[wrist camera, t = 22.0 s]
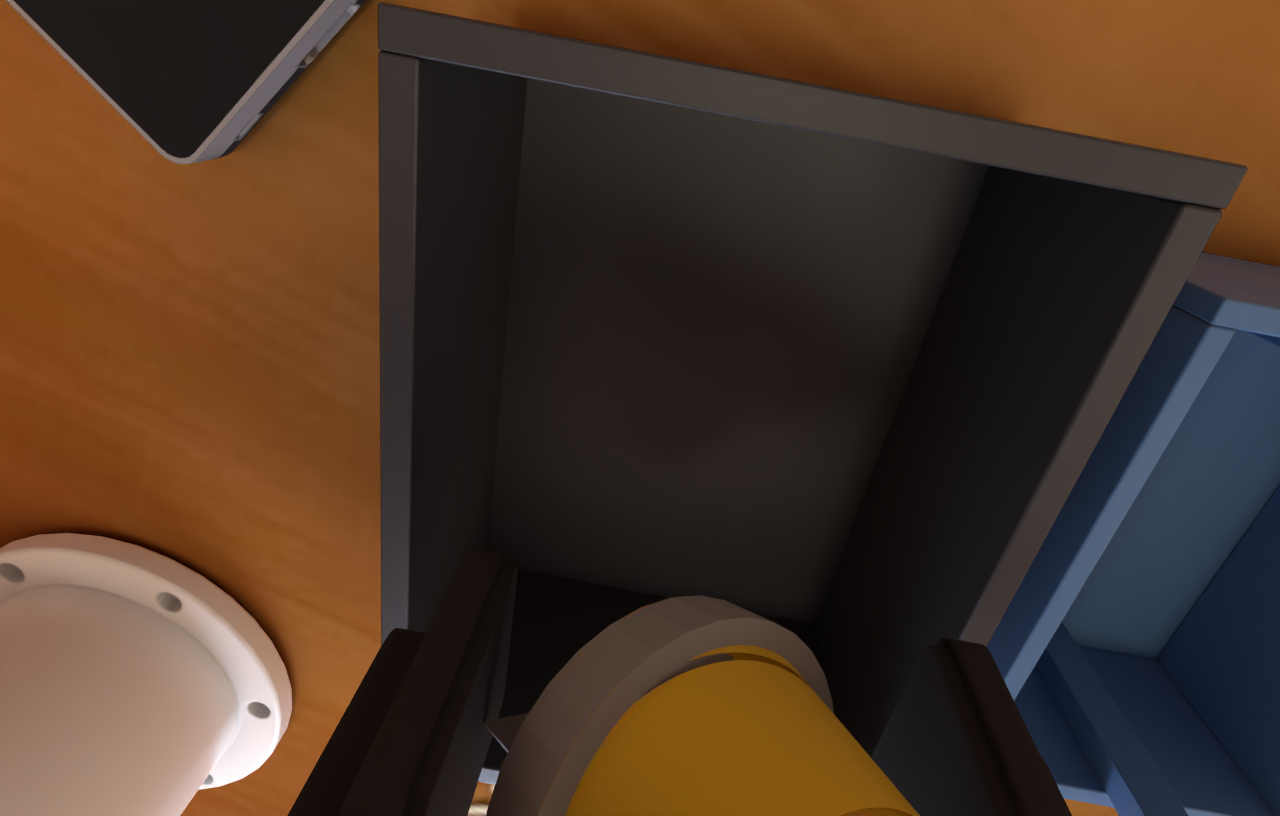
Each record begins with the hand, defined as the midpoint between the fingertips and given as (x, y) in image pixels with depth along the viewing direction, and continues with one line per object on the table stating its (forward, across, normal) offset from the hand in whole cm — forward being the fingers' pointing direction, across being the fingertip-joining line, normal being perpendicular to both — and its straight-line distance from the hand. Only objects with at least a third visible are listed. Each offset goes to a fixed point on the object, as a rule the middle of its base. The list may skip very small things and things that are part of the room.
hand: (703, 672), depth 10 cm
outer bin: (+11, 0, 0) cm, 11 cm away
